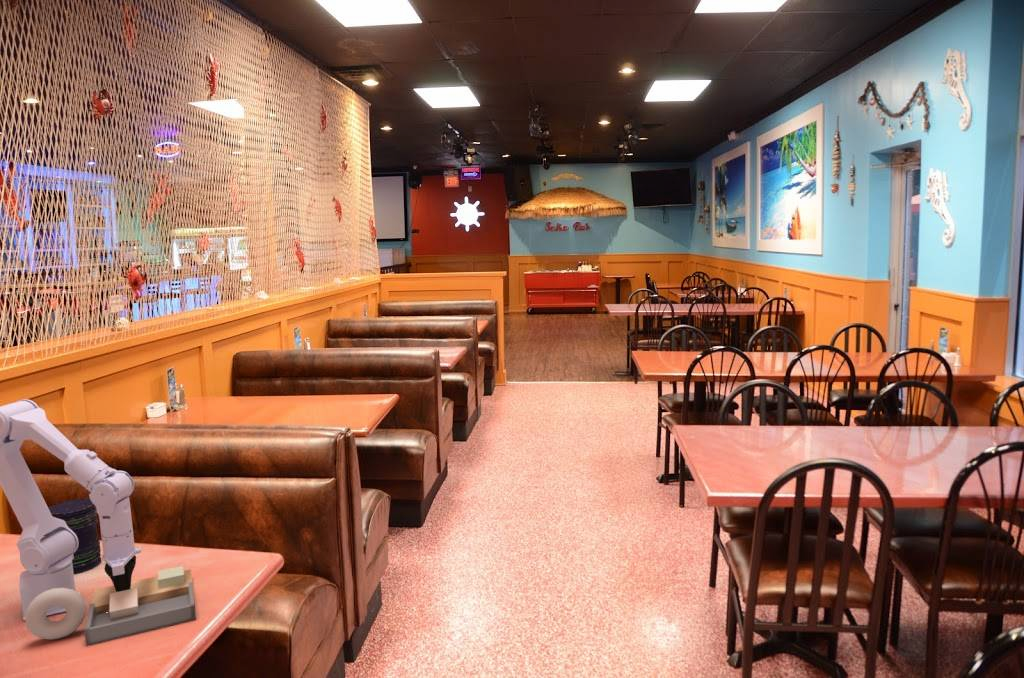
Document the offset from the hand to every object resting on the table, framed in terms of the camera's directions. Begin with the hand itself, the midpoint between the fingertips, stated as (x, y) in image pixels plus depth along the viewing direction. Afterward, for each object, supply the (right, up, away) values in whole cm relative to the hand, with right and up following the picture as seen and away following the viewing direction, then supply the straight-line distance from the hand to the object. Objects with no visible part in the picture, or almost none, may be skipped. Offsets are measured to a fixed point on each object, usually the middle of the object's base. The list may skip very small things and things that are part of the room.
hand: (124, 594), depth 148 cm
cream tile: (+1, -2, -2) cm, 3 cm away
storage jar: (-23, -1, +21) cm, 31 cm away
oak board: (+2, -2, +5) cm, 6 cm away
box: (+6, -3, -5) cm, 9 cm away
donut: (-7, -5, -11) cm, 14 cm away
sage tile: (+7, 0, +7) cm, 10 cm away
